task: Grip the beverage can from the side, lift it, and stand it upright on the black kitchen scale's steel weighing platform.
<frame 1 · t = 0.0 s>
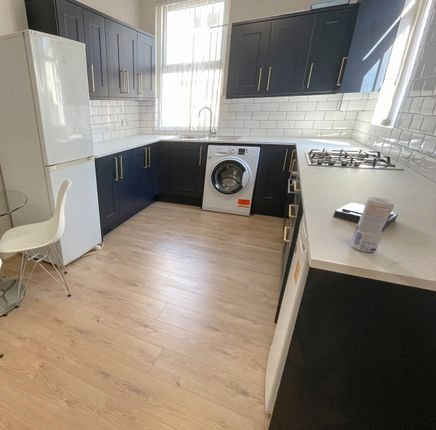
beverage can: (362, 249, 81), on the countertop
scale: (363, 218, 101), on the countertop
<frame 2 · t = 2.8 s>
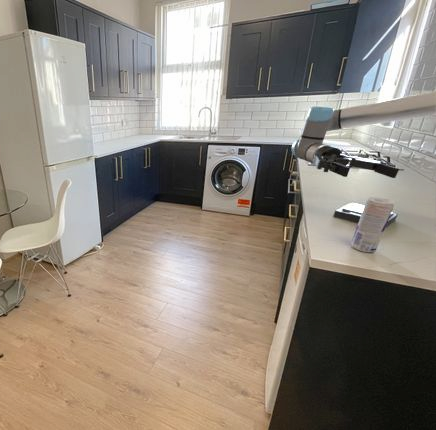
hand: (371, 172, 80), 21 cm above the countertop, tool horizontal, fingers open, 13 cm apart
nothing on the countertop moved.
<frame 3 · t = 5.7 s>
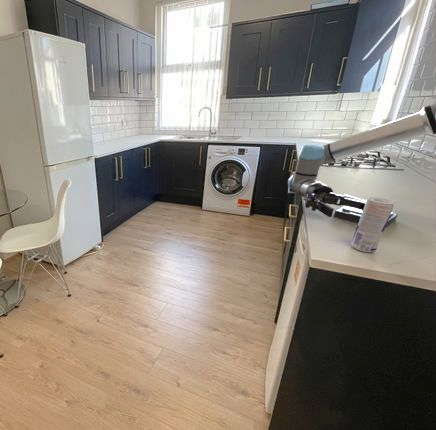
hand: (355, 213, 84), 8 cm above the countertop, tool horizontal, fingers open, 13 cm apart
nothing on the countertop moved.
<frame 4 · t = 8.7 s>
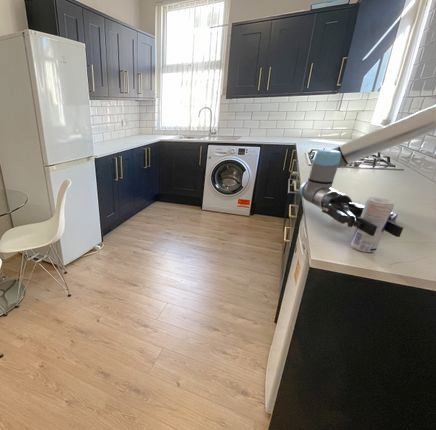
hand: (386, 231, 73), 8 cm above the countertop, tool horizontal, fingers closed on beverage can, 6 cm apart
beverage can: (362, 249, 81), on the countertop, touching gripper
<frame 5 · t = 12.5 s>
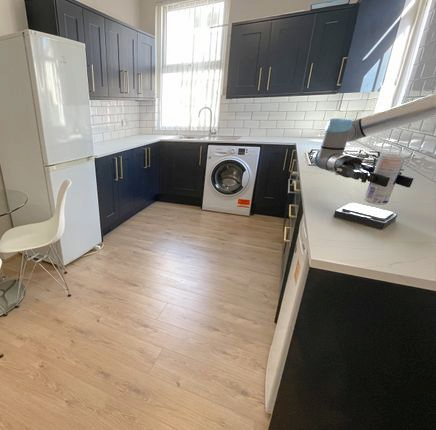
hand: (398, 182, 80), 18 cm above the countertop, tool horizontal, fingers closed on beverage can, 6 cm apart
beverage can: (374, 203, 88), point 10 cm above the countertop, touching gripper
when the fingers open (11 cm above the countertop, at t = 16.5 s): beverage can stays where it is, resting on scale.
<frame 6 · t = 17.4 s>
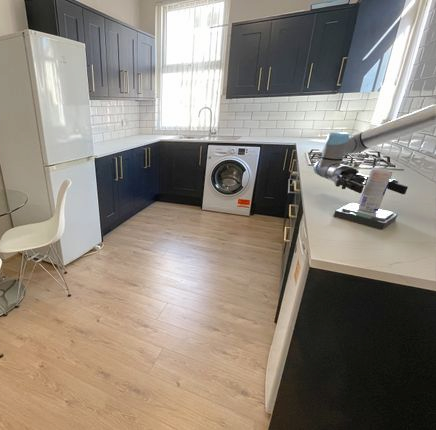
hand: (383, 189, 95), 12 cm above the countertop, tool horizontal, fingers open, 13 cm apart
beverage can: (367, 210, 101), point 3 cm above the countertop, touching scale
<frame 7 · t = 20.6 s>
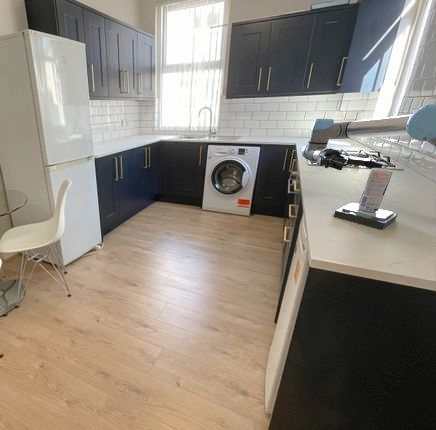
hand: (361, 167, 105), 17 cm above the countertop, tool horizontal, fingers open, 13 cm apart
nothing on the countertop moved.
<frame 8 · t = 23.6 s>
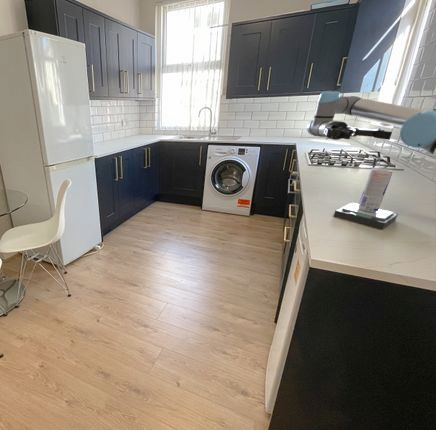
hand: (369, 135, 102), 28 cm above the countertop, tool horizontal, fingers open, 13 cm apart
nothing on the countertop moved.
at the end: beverage can inside the target area on the scale (0.1 cm from its centre), point 2.9 cm above the scale's base; beverage can tilted 0°; the gripper is holding nothing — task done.
